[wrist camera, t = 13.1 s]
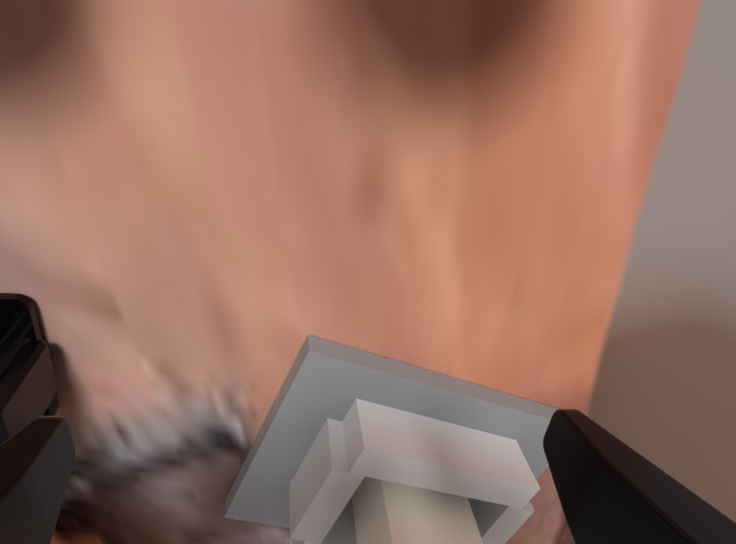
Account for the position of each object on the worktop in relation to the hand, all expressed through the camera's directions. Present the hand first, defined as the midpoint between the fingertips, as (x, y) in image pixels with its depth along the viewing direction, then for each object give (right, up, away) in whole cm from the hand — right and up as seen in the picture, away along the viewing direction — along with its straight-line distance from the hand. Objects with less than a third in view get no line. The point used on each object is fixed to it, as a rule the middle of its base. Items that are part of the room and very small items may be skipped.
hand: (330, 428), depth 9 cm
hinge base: (+2, -7, +19) cm, 20 cm away
